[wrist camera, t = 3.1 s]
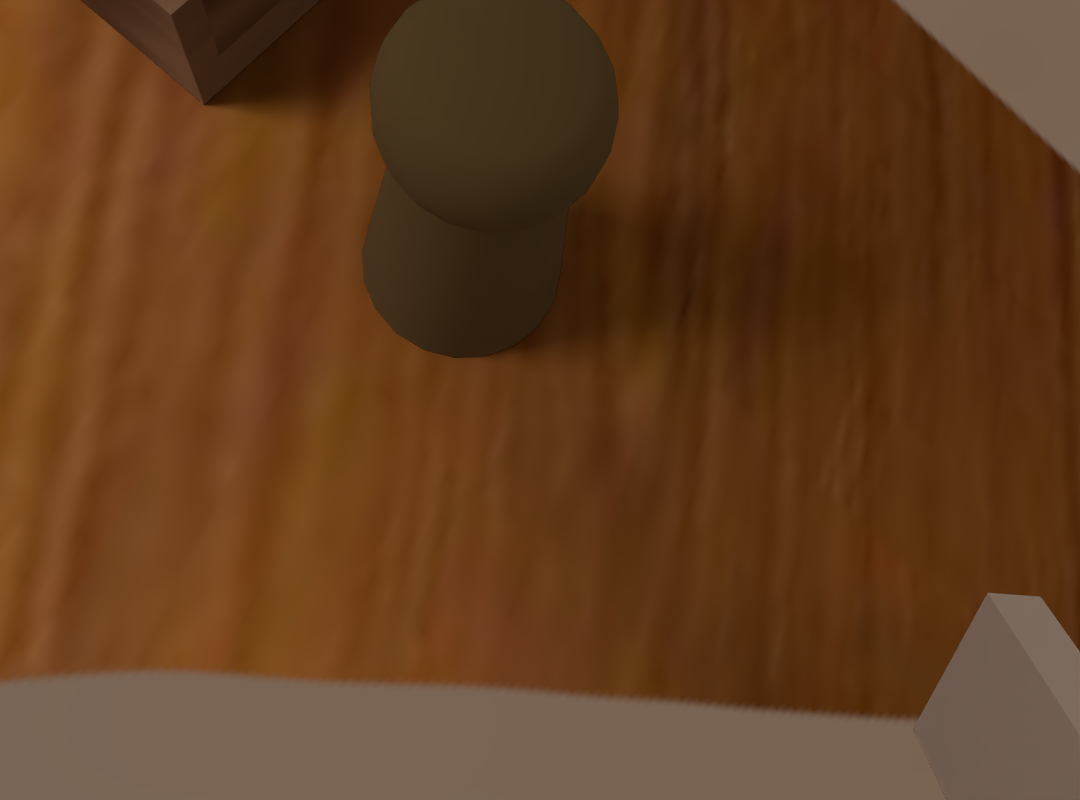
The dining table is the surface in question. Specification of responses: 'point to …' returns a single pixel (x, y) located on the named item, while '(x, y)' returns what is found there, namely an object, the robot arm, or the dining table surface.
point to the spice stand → (201, 34)
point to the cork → (481, 165)
